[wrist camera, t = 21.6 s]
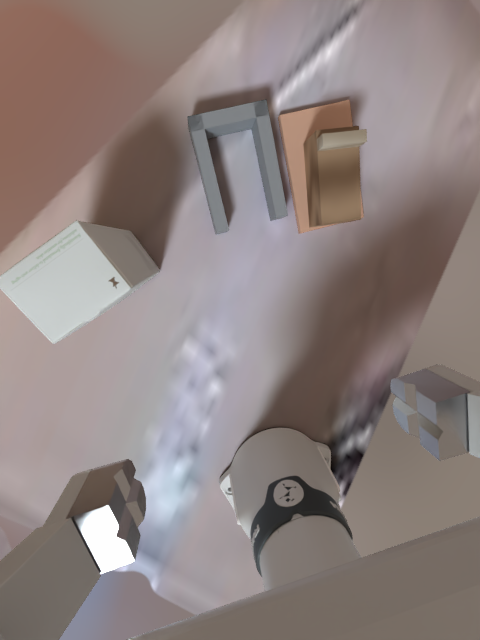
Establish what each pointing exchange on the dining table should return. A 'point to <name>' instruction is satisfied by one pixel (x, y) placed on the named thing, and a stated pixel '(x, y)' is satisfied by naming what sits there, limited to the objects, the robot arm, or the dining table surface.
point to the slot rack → (260, 124)
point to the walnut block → (333, 175)
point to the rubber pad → (293, 137)
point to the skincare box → (77, 277)
